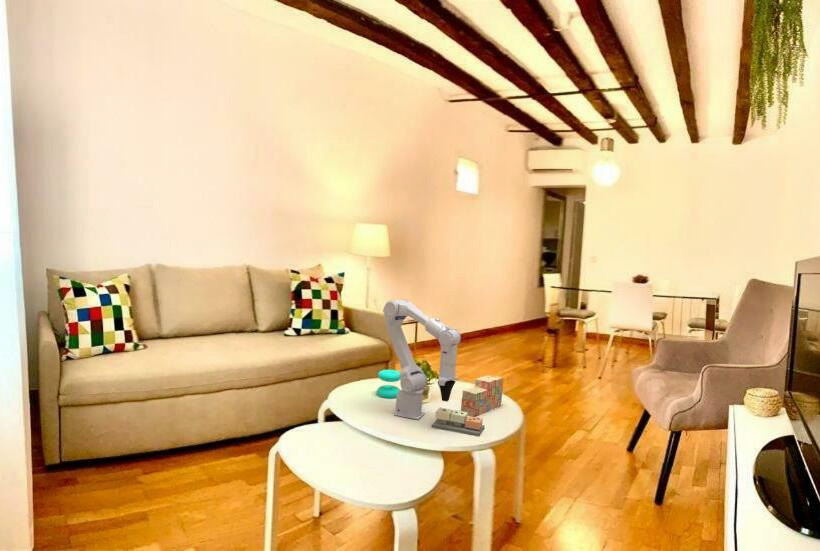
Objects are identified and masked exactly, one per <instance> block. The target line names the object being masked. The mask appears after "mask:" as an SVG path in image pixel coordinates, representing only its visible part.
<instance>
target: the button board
mask: <svg viewBox="0 0 820 551" xmlns="http://www.w3.org/2000/svg"><path fill="white" fill-rule="evenodd" d="M465 423H466V422H465ZM465 423H459V422H453V421H450V420H449V421H448V420H443V419H437V418H436V420H435V421H434V422H433V423H432V424H431V428H434V429H439V430H444V431H449V432H454V433H460V434H466V435H470V436H475V437H480V436H481V434H482V433H483V431H484V430H485V425H484V424H482V426H481V428H480V430H477V429H472V428H466V427H465Z"/></svg>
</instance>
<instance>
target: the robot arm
mask: <svg viewBox="0 0 820 551" xmlns="http://www.w3.org/2000/svg"><path fill="white" fill-rule="evenodd" d="M382 312H383V315H384V317H385V318H384V320H385V328H386V332H387V333H388V337H389V338H390V342H391V345H392V347H393V350H394V352H395V355H396V358H397V360H398V363H399V366H400V368H401V370H400V371H399V372H400V374H399V377H400V380H399V381H400V384H399V385H400V387H401V389H400V390H399V391H398V394H397V397H395V398H396V400H395V401H396V402H395V413H394V416H395V417H396V416H397V417H403V418H408V419H414V420H420V419H421V418H423V416H424V415H425V413H426V412H424V411H422V410H423V399H424V398H423V397H424V395H423V394H424V391H425V390H424V389H425V388H426V387H427V385H428V377H427V375H426V374H425V373H424V372H423V370H422V367H420V366H419V365H417V364H416V362H415V359H414V357H413V354H412V351H411V349H410V347H409V344H408V341H407V338H406V336H405V334H404V330H403V329H402V324H403V322H404V321H405V320H406V318H407V317H409V318H411V319H412V320H414V321H416V322H417V323H418V324H421V325H423V326H424V330H425V332H427V333H428V334H430V335H431V336H432V337H433V338H435V339H437V340H438V342H439V345H440V356H439V357H440V358H439V372H438V375H437V376H438V381H437V385H438V388H439V391H440V395H441V401H442V402H447V403H448V402H449V400H450V397H451V394H452V391H453V388H454V386H455V384H456V380H458V379H459V376H458V375H456V370H457V354H458V345H459V344H460V342H461V340H462V336H461V333H460V332H459V330H458V329H457V328H450V326H449V325H446V324H444V323H443V322H441V319H439V318H438V317H437V318H435V317H433V318H430V317H428V316H427V315H426V314H425V313H424V312H422V311H421V310H420V309H419V308H417V307H416V306H415V305H414V303H413V302H410V301H409V300H408V299H399V300H398V299H396V300H388V301H387V302H385V304H384V307H383V309H382Z"/></svg>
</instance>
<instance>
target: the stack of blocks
mask: <svg viewBox="0 0 820 551" xmlns="http://www.w3.org/2000/svg"><path fill="white" fill-rule="evenodd" d="M503 388H504V377H501V376H498V375H493V374H489V375H488V374H487V375H483V376H480V377H478V378H475V381H474V386H471V387H468V388H466V389H463V390H462V396H461V397H462V398H461V404H460V405H461V407H460V411H463V412H468V417H469V416H471V417H477V416H478V417H479V416H481V415H483V414H486V413H488V412H490V411H493V410H495V408H496V409H498V408H500V406H501V407H502V402H503V401H502V398H503ZM497 407H498V408H497ZM492 409H493V410H492Z"/></svg>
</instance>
